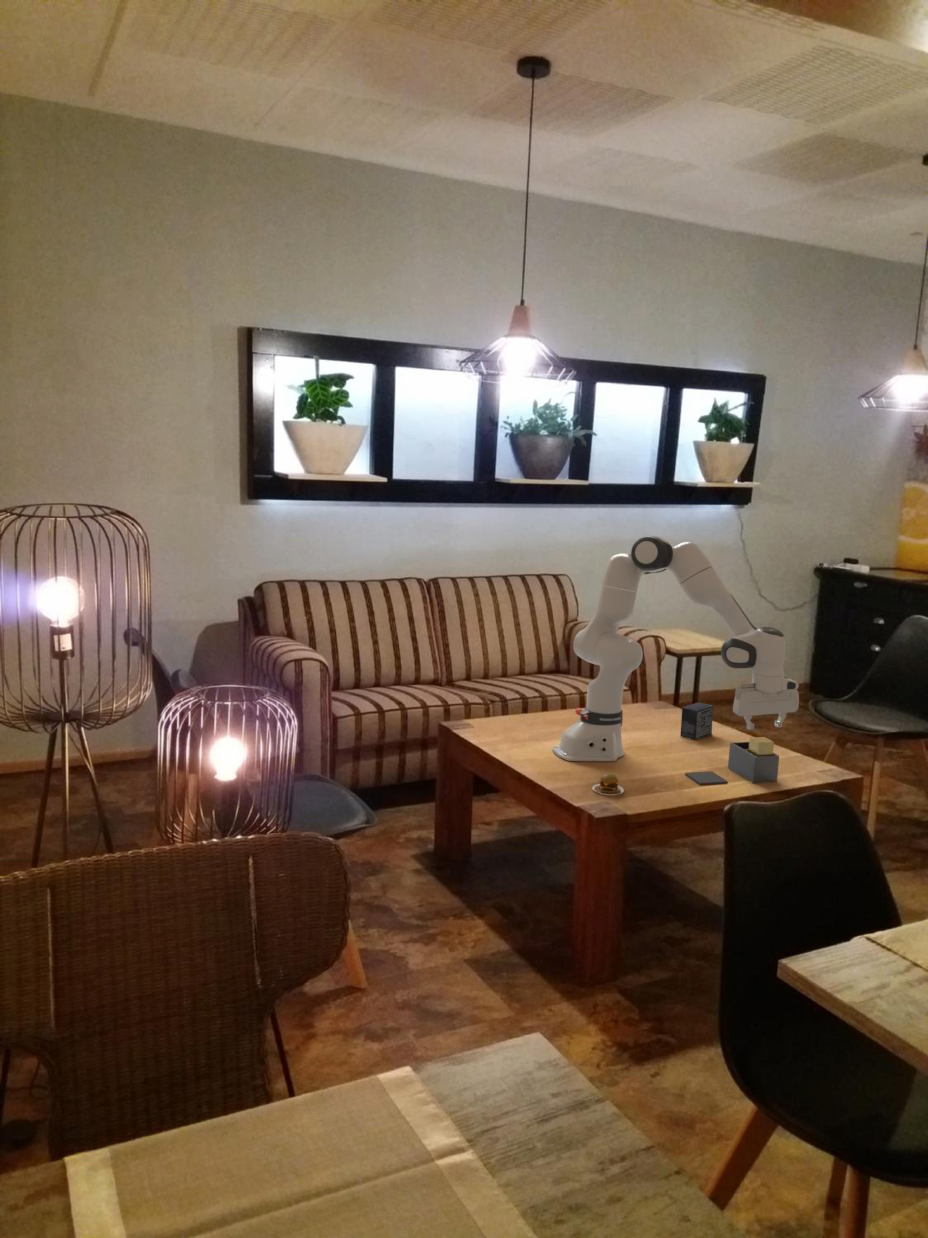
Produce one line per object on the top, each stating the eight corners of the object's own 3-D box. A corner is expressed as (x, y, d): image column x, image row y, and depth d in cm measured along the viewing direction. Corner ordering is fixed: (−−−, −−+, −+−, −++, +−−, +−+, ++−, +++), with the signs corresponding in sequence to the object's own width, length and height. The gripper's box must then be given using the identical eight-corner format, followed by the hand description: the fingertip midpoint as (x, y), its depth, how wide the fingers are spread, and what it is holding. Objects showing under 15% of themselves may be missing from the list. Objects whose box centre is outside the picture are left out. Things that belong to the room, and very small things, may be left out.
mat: (699, 785, 275) (699, 783, 275) (684, 774, 284) (685, 773, 284) (727, 783, 278) (727, 781, 278) (711, 773, 286) (711, 771, 286)
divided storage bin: (752, 783, 278) (755, 757, 277) (727, 767, 292) (730, 742, 290) (776, 781, 280) (779, 755, 279) (751, 766, 294) (753, 741, 292)
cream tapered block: (756, 769, 279) (759, 742, 277) (747, 763, 284) (749, 737, 282) (771, 768, 280) (774, 742, 279) (762, 762, 285) (764, 737, 284)
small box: (695, 730, 331) (698, 701, 329) (712, 735, 326) (714, 705, 324) (679, 736, 323) (681, 706, 321) (695, 740, 319) (697, 710, 317)
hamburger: (600, 782, 277) (601, 764, 276) (637, 792, 270) (638, 774, 269) (578, 792, 268) (579, 774, 267) (615, 803, 260) (616, 784, 259)
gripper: (742, 687, 272) (739, 734, 275) (803, 683, 278) (800, 728, 281) (730, 682, 278) (727, 727, 281) (790, 678, 284) (787, 722, 286)
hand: (764, 728), depth 281 cm, fingers open, 8 cm apart
